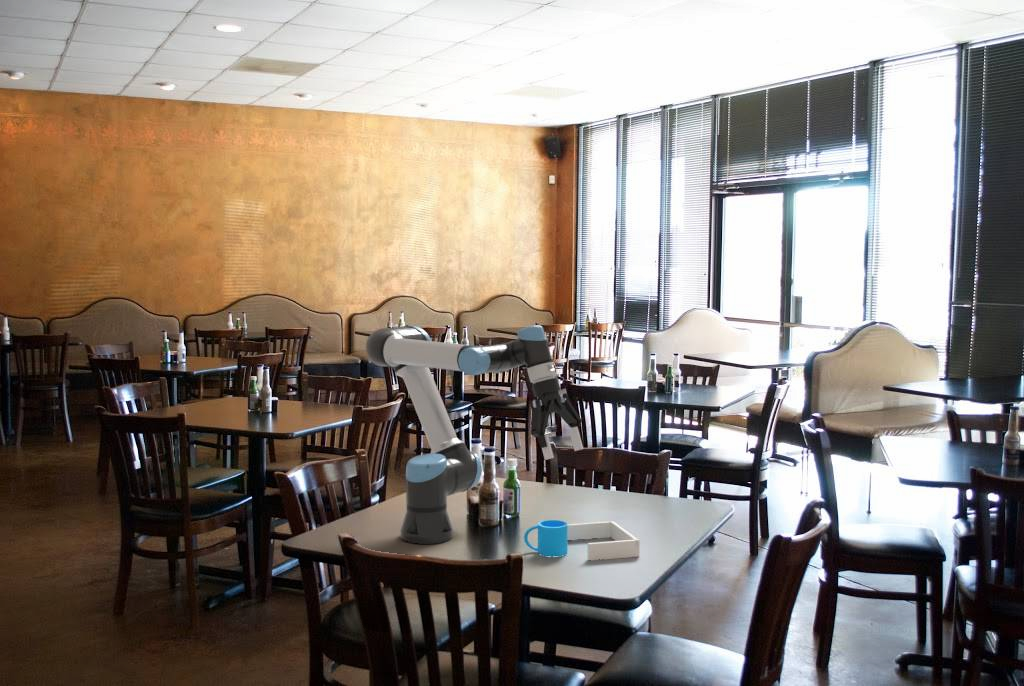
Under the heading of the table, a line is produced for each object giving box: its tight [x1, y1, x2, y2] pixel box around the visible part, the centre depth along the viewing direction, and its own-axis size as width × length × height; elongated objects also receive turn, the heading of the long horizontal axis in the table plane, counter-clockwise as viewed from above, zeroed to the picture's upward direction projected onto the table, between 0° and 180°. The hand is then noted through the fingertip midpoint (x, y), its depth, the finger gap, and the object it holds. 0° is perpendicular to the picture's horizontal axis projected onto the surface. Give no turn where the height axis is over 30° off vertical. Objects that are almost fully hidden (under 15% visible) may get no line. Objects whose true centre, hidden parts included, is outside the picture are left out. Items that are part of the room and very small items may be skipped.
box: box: [567, 520, 641, 561], centre depth 267 cm, size 14×20×4 cm
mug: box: [523, 519, 568, 558], centre depth 263 cm, size 12×8×8 cm
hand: (564, 454), depth 265 cm, fingers open, 13 cm apart
